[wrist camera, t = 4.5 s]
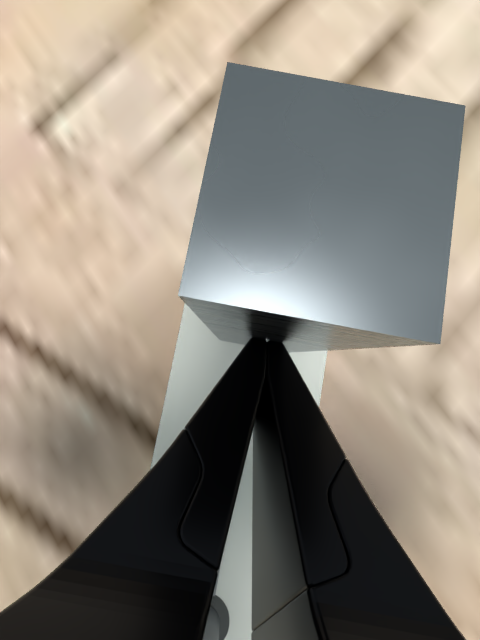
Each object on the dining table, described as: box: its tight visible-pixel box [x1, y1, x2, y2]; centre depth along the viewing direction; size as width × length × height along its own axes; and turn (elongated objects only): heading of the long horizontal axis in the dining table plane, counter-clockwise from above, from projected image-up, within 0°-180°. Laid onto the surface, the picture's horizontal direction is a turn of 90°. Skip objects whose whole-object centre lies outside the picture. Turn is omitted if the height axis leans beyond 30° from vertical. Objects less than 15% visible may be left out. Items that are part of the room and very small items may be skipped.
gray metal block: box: [178, 62, 465, 353], centre depth 9 cm, size 3×3×11 cm
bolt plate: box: [150, 304, 327, 640], centre depth 13 cm, size 18×7×4 cm, turn 170°
